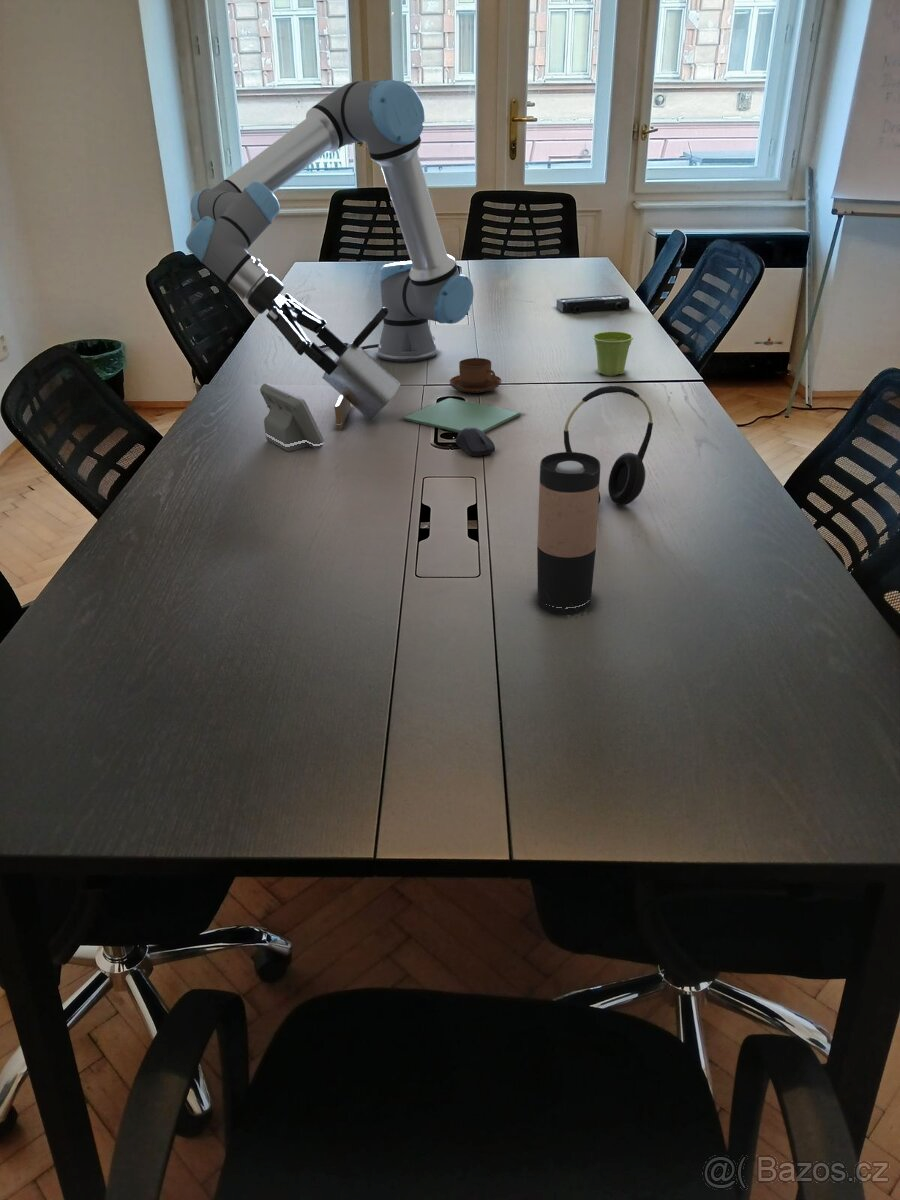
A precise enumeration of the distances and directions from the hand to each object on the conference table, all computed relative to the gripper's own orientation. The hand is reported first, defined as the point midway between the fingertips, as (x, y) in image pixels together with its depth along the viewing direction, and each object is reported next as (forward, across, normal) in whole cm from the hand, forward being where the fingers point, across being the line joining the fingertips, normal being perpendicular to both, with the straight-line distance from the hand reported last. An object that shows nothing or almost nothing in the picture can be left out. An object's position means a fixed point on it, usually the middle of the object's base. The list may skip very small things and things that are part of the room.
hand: (339, 361), depth 182 cm
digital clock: (+3, -14, +14) cm, 20 cm away
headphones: (+44, -46, -27) cm, 69 cm away
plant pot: (+51, +32, -34) cm, 69 cm away
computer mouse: (+29, -20, -11) cm, 37 cm away
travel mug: (+38, -78, -20) cm, 89 cm away
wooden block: (+9, 0, +9) cm, 12 cm away
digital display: (+53, +102, -36) cm, 120 cm away
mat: (+26, 0, -9) cm, 28 cm away
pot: (+12, 0, +6) cm, 13 cm away
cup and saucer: (+28, +20, -11) cm, 36 cm away
